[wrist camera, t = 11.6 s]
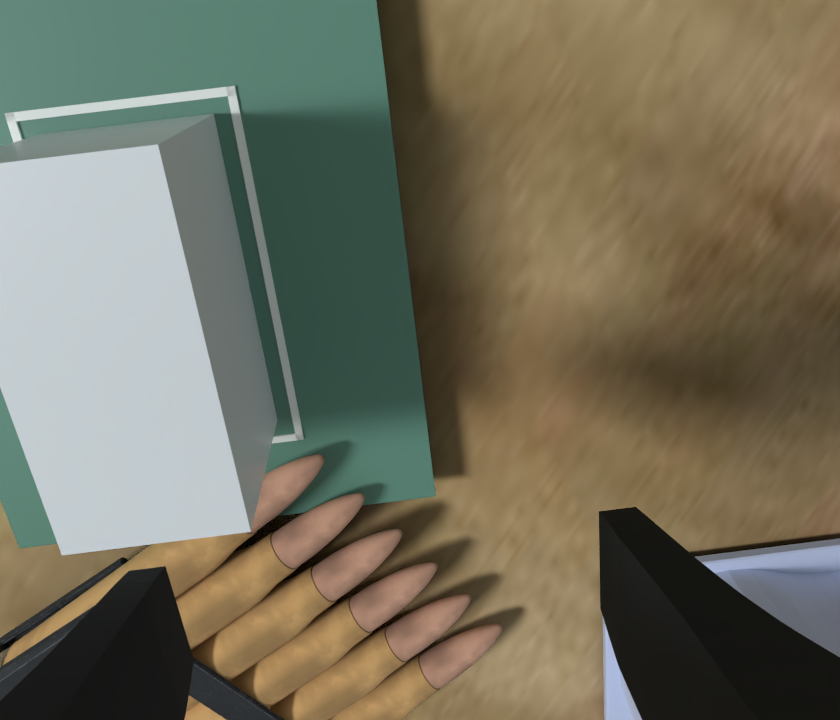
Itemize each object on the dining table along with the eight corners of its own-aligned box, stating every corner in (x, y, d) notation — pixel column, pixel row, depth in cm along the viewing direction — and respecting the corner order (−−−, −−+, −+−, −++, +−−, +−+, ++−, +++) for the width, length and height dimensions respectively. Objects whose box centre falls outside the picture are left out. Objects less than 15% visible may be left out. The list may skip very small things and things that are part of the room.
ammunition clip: (-30, 692, 21) (300, 454, 19) (-7, 640, 23) (299, 415, 21) (237, 841, 26) (525, 664, 24) (240, 789, 28) (510, 619, 26)
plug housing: (214, 113, 17) (158, 144, 13) (277, 420, 21) (250, 531, 16) (39, 133, 17) (-79, 172, 13) (130, 438, 21) (61, 555, 16)
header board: (369, -48, 17) (369, -71, 13) (433, 477, 23) (446, 576, 19) (-162, 15, 17) (-331, 11, 13) (34, 527, 23) (-41, 638, 19)
